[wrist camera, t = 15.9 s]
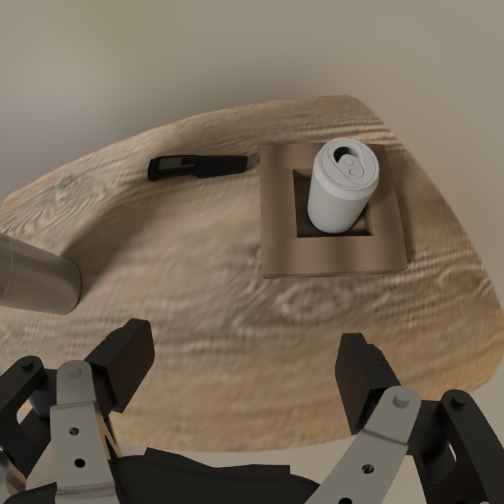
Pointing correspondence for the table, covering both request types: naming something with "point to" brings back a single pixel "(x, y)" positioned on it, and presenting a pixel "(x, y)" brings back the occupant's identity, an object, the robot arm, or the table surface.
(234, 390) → the table surface
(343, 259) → the hole board
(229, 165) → the electric trimmer
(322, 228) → the beverage can
